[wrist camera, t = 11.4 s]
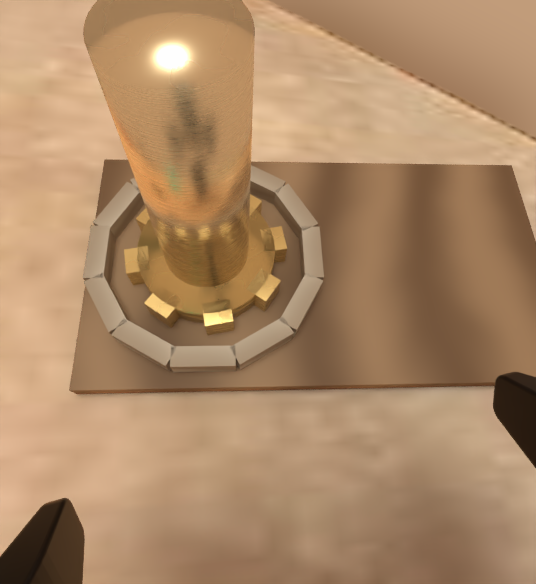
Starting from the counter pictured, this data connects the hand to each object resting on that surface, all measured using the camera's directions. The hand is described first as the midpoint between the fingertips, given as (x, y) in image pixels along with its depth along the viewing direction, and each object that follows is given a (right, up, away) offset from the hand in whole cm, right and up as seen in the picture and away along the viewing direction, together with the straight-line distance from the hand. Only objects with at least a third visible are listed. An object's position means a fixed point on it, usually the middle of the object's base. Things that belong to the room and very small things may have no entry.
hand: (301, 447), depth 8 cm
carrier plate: (+2, +4, +16) cm, 17 cm away
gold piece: (-4, +5, +15) cm, 16 cm away
